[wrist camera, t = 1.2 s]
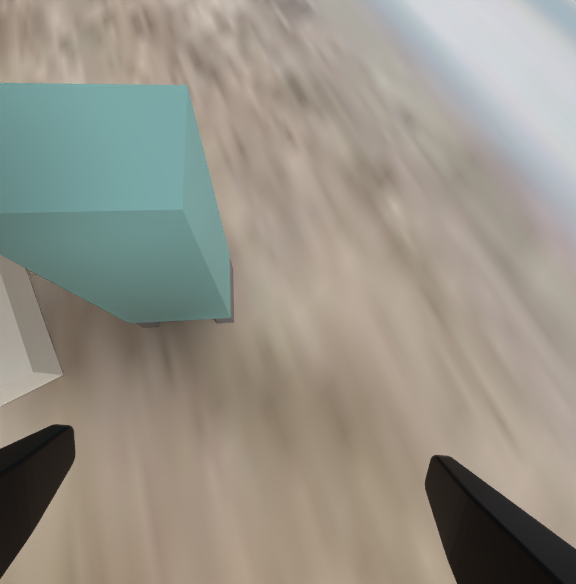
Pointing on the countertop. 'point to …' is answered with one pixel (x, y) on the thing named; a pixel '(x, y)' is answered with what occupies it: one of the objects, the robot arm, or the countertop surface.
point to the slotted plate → (22, 336)
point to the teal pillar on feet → (113, 199)
